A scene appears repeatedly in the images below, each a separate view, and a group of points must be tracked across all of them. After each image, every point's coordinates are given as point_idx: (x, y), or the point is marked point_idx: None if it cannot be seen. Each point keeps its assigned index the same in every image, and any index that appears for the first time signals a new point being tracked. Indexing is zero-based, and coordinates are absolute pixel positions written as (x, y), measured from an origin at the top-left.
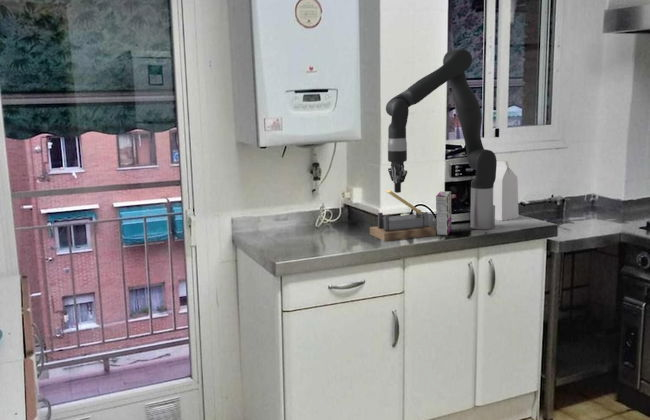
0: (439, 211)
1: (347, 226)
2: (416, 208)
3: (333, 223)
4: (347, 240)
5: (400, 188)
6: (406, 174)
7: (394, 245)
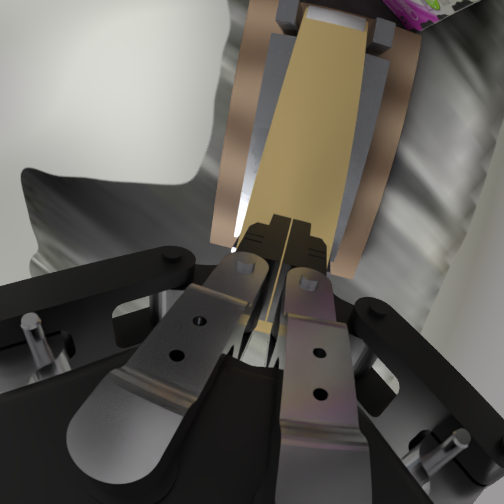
0: (463, 8)
1: (76, 210)
2: (361, 75)
3: (34, 218)
4: (254, 331)
5: (324, 257)
6: (494, 411)
7: (419, 278)
